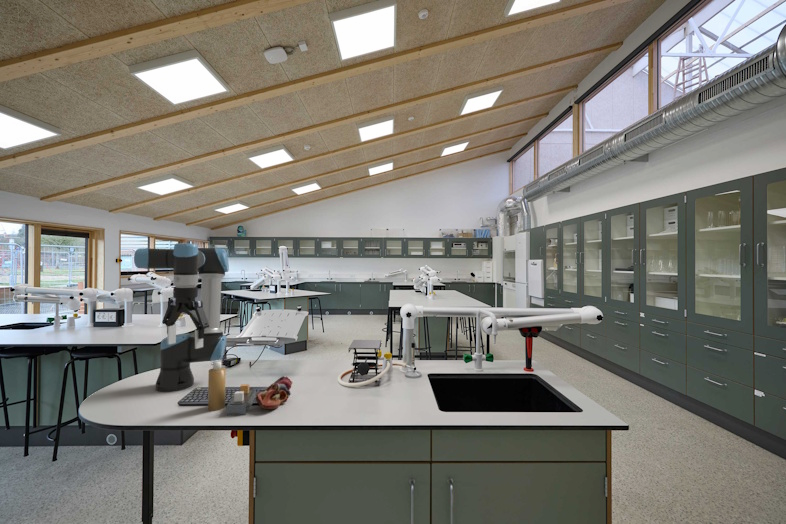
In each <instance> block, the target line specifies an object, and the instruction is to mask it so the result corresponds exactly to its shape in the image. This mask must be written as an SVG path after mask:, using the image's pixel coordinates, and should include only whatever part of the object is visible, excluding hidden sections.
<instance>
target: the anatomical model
mask: <svg viewBox="0 0 786 524" xmlns="http://www.w3.org/2000/svg"><path fill="white" fill-rule="evenodd" d="M292 385H293V381H291V379H290V378H289V377H288V376H285V375H283V376H281V377H279V378H278V379H277V380H275V381H274V382H273V383H272V384H270V385H269V386H268V387H267V388H266V389H265V390H264V391H261V392H259V393H258V394H256V399H255V400H256V402H257V404H258V405H259V406H260V407H261V408H263V409H265V410H266V409H267V410H275V409H277V408H278V407H280V406H281V404H283V403H286V402H287V401H288V399H289V397H290V395H292V394H291V391H290V390H291V388H292Z"/></svg>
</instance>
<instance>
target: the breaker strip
mask: <svg viewBox="0 0 786 524" xmlns="http://www.w3.org/2000/svg"><path fill="white" fill-rule="evenodd" d="M256 396H257V390H256V389H253V388H252V387H249V393H248V394H244V400H243V401H241V402H234V396H233V397H231V400H230V401H229V402H228V403H227V405H225V416H227V417H228V416H243V415H244V416H245V415H247V413H248V411H249V410H250V408H251V407H252V405H253V403H254V402H253V400H254V398H255V397H256ZM254 401H255V400H254ZM252 402H253V403H252Z"/></svg>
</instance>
